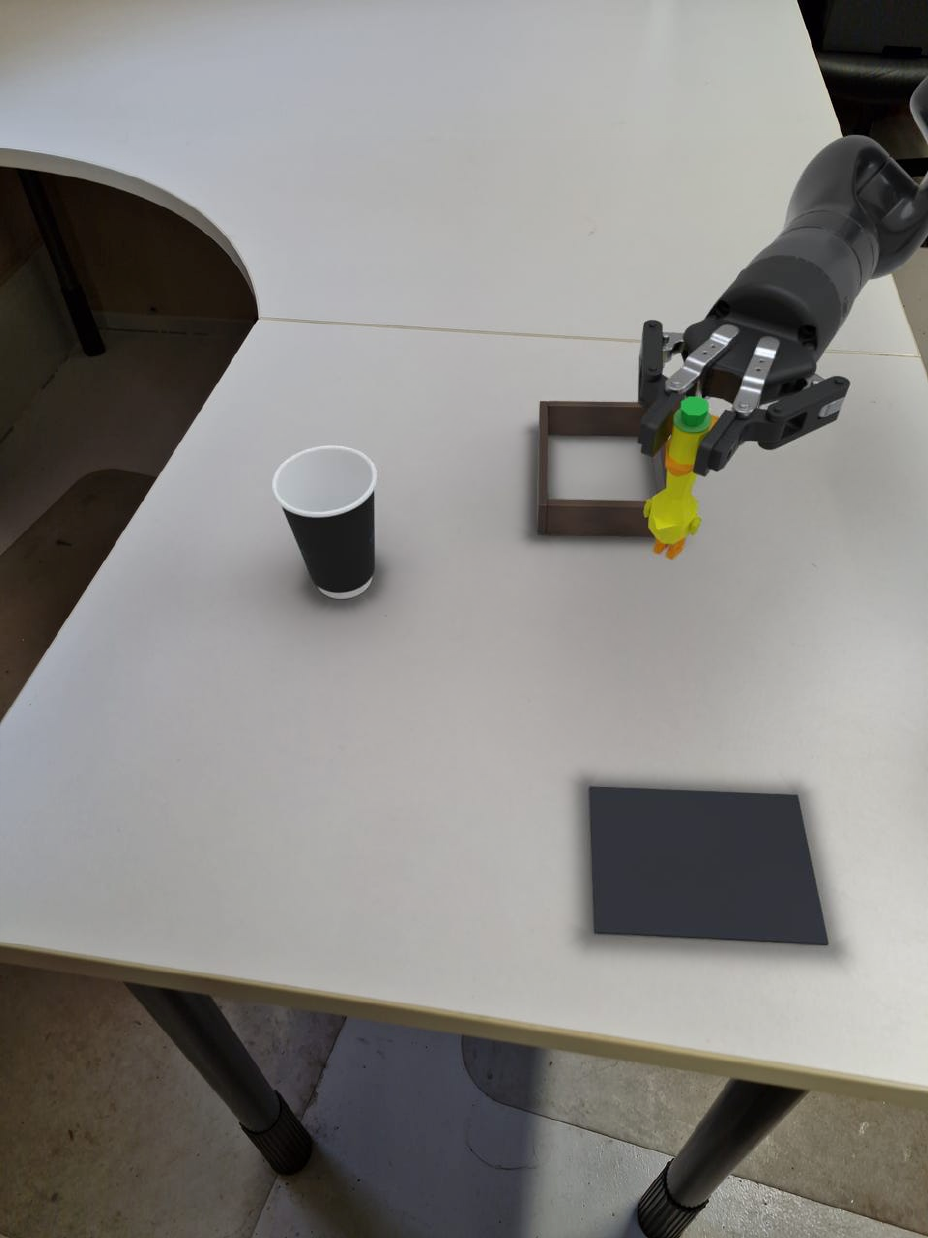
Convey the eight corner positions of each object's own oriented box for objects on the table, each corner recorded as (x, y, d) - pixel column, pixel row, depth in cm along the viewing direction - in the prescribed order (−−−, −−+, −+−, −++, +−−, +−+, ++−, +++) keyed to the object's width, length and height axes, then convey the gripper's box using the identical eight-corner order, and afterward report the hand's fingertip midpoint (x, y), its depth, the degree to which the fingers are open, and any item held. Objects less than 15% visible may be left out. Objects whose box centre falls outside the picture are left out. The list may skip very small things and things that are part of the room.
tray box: (657, 431, 84) (662, 401, 81) (671, 537, 74) (677, 507, 72) (538, 430, 84) (539, 400, 82) (536, 534, 75) (538, 504, 72)
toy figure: (665, 506, 60) (696, 356, 50) (714, 524, 58) (754, 374, 49) (623, 567, 56) (647, 418, 47) (674, 588, 55) (709, 439, 46)
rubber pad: (796, 796, 58) (798, 794, 58) (827, 945, 52) (828, 943, 51) (589, 788, 59) (589, 786, 59) (594, 933, 53) (594, 931, 52)
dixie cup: (410, 572, 73) (399, 472, 64) (343, 628, 69) (322, 530, 60) (345, 531, 76) (325, 431, 68) (278, 582, 72) (248, 483, 64)
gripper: (871, 388, 57) (777, 546, 48) (678, 329, 63) (561, 462, 54) (913, 283, 51) (814, 441, 43) (696, 228, 57) (568, 358, 48)
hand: (674, 452), depth 48 cm, fingers closed on toy figure, 2 cm apart
